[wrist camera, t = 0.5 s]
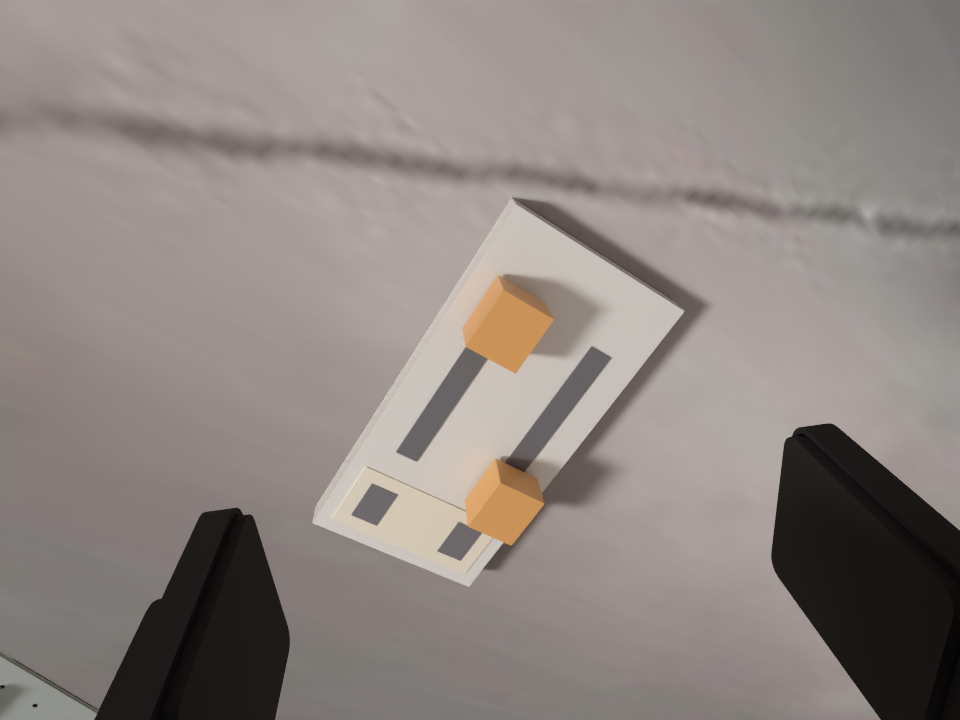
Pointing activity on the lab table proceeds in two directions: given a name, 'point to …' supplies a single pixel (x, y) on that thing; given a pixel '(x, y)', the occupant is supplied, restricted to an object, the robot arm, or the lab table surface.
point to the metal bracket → (36, 696)
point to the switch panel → (494, 397)
